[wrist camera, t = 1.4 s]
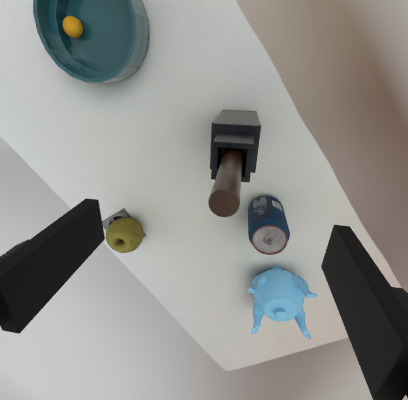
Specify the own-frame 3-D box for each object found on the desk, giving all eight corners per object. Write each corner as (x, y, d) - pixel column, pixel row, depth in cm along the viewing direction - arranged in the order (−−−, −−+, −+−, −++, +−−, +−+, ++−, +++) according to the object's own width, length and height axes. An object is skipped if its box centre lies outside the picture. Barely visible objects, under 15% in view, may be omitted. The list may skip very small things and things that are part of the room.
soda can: (268, 227, 54) (274, 264, 43) (241, 211, 53) (240, 244, 43) (289, 204, 51) (300, 236, 40) (261, 186, 50) (264, 215, 40)
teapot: (301, 302, 62) (310, 340, 53) (247, 298, 64) (247, 334, 55) (306, 260, 56) (318, 294, 47) (247, 258, 58) (247, 290, 49)
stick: (243, 140, 31) (240, 191, 17) (241, 157, 32) (238, 219, 18) (226, 139, 32) (208, 188, 17) (224, 156, 32) (207, 216, 18)
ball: (85, 18, 42) (74, 13, 39) (88, 39, 43) (77, 36, 40) (68, 18, 42) (56, 13, 39) (72, 39, 43) (60, 36, 41)
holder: (256, 111, 44) (264, 135, 25) (252, 144, 47) (256, 190, 27) (222, 109, 45) (204, 132, 26) (221, 142, 48) (202, 186, 28)
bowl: (146, -34, 38) (130, -52, 33) (153, 83, 45) (140, 84, 40) (50, -31, 40) (19, -48, 35) (70, 80, 47) (48, 80, 42)
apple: (150, 240, 60) (138, 258, 54) (119, 238, 62) (104, 256, 55) (146, 212, 57) (133, 228, 51) (113, 211, 58) (97, 226, 52)
